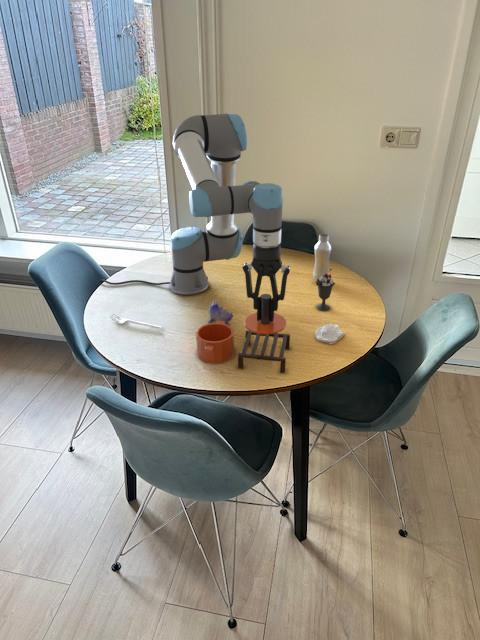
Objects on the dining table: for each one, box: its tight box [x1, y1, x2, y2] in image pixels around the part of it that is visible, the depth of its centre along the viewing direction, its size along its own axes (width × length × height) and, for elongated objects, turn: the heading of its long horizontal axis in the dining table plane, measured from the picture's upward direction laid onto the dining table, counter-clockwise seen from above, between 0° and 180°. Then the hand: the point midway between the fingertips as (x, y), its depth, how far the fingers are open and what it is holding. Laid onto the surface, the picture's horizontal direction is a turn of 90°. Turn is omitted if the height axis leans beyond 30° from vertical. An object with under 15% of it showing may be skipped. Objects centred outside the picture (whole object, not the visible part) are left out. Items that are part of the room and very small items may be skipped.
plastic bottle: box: [311, 233, 332, 284], centre depth 188 cm, size 6×7×20 cm
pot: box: [195, 321, 235, 364], centre depth 148 cm, size 11×17×8 cm
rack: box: [237, 329, 291, 374], centre depth 146 cm, size 14×14×5 cm
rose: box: [314, 323, 346, 345], centre depth 156 cm, size 10×4×10 cm
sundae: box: [315, 268, 336, 312], centre depth 171 cm, size 7×7×15 cm
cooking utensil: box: [109, 313, 163, 330], centre depth 165 cm, size 3×20×2 cm, turn 70°
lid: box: [243, 293, 287, 335], centre depth 139 cm, size 12×12×10 cm
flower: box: [207, 299, 234, 326], centre depth 163 cm, size 9×9×10 cm
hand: (265, 318), depth 141 cm, fingers closed on lid, 3 cm apart
